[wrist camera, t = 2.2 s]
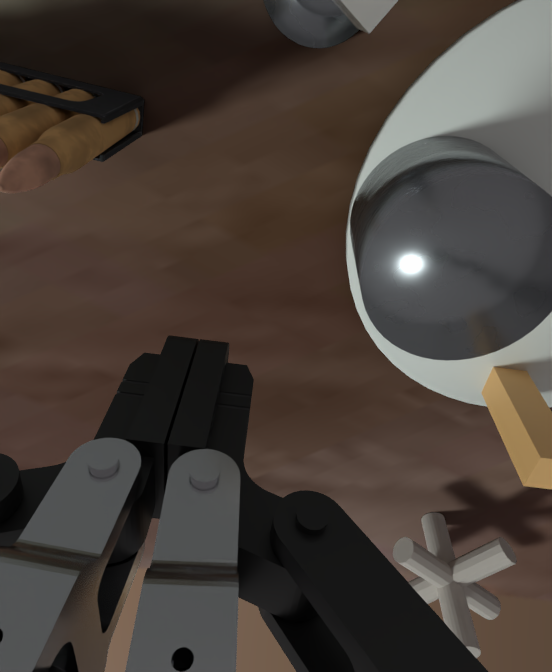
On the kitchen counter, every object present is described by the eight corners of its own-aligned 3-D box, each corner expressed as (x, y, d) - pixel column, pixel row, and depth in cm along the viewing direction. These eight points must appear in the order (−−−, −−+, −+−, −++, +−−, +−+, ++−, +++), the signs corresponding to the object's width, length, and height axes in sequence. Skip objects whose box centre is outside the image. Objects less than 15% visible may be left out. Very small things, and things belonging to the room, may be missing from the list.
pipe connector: (444, 458, 36) (485, 592, 28) (523, 520, 40) (580, 656, 31) (344, 518, 41) (354, 650, 32) (423, 569, 44) (450, 701, 36)
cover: (546, 148, 22) (615, 189, 17) (483, 302, 27) (524, 371, 22) (369, 124, 22) (388, 158, 17) (335, 283, 26) (342, 348, 21)
